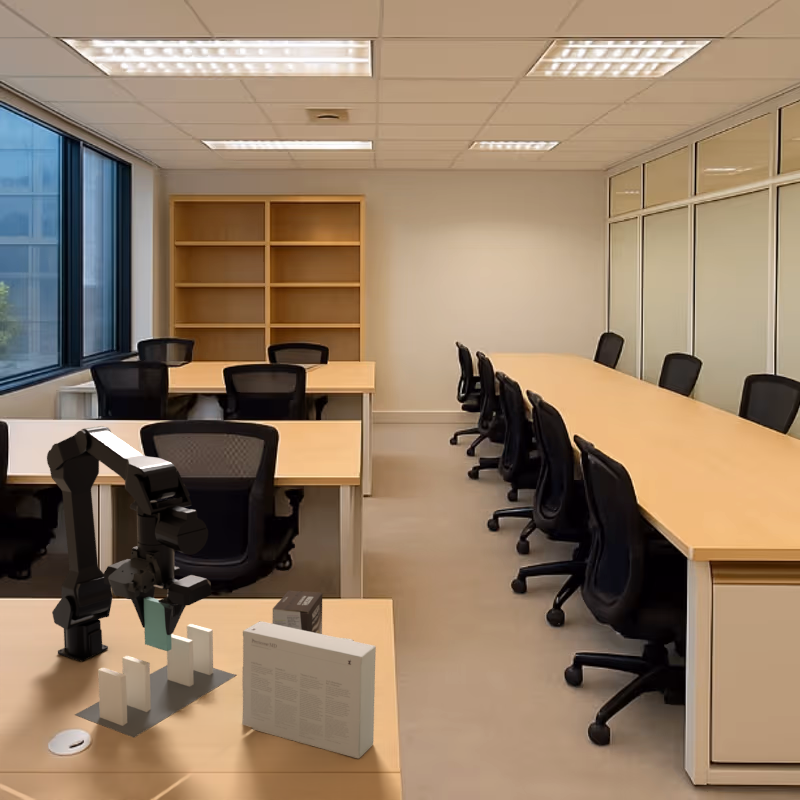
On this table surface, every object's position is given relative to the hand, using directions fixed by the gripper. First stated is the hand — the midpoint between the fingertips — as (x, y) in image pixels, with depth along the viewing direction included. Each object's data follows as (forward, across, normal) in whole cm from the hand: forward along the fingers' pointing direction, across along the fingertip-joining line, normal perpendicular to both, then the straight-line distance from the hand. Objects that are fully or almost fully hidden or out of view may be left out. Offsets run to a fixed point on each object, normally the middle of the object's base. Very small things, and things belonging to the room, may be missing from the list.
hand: (157, 630), depth 147 cm
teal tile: (+3, 0, 0) cm, 3 cm away
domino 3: (+11, 0, +5) cm, 12 cm away
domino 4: (+11, 0, +10) cm, 15 cm away
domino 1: (+11, 0, -10) cm, 15 cm away
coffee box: (+12, +18, +14) cm, 26 cm away
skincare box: (+12, +28, +3) cm, 31 cm away
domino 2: (+11, 0, -5) cm, 12 cm away
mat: (+12, 0, 0) cm, 12 cm away
